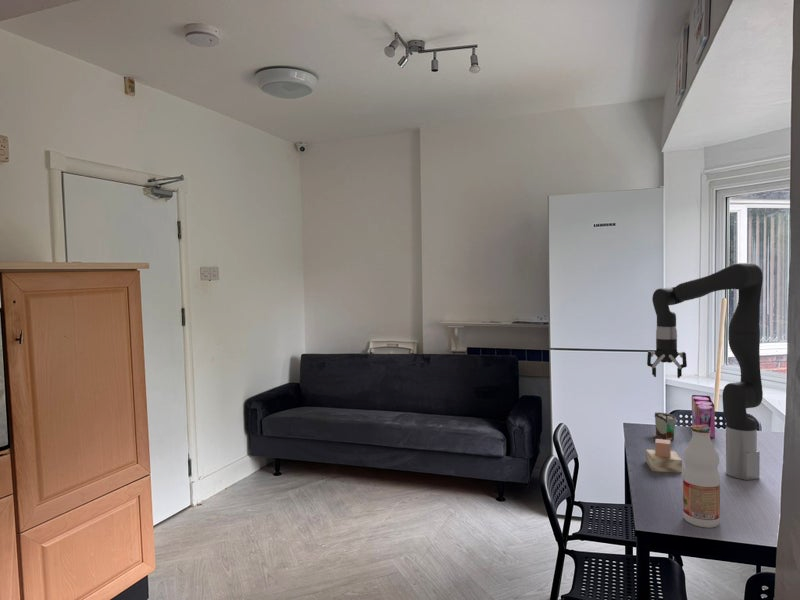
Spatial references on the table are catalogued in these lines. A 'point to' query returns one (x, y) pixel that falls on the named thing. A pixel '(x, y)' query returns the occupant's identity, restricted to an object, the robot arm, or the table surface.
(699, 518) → the fruit juice
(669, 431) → the food container
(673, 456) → the birch block
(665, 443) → the terracotta cube
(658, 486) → the table surface
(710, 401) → the gum box
